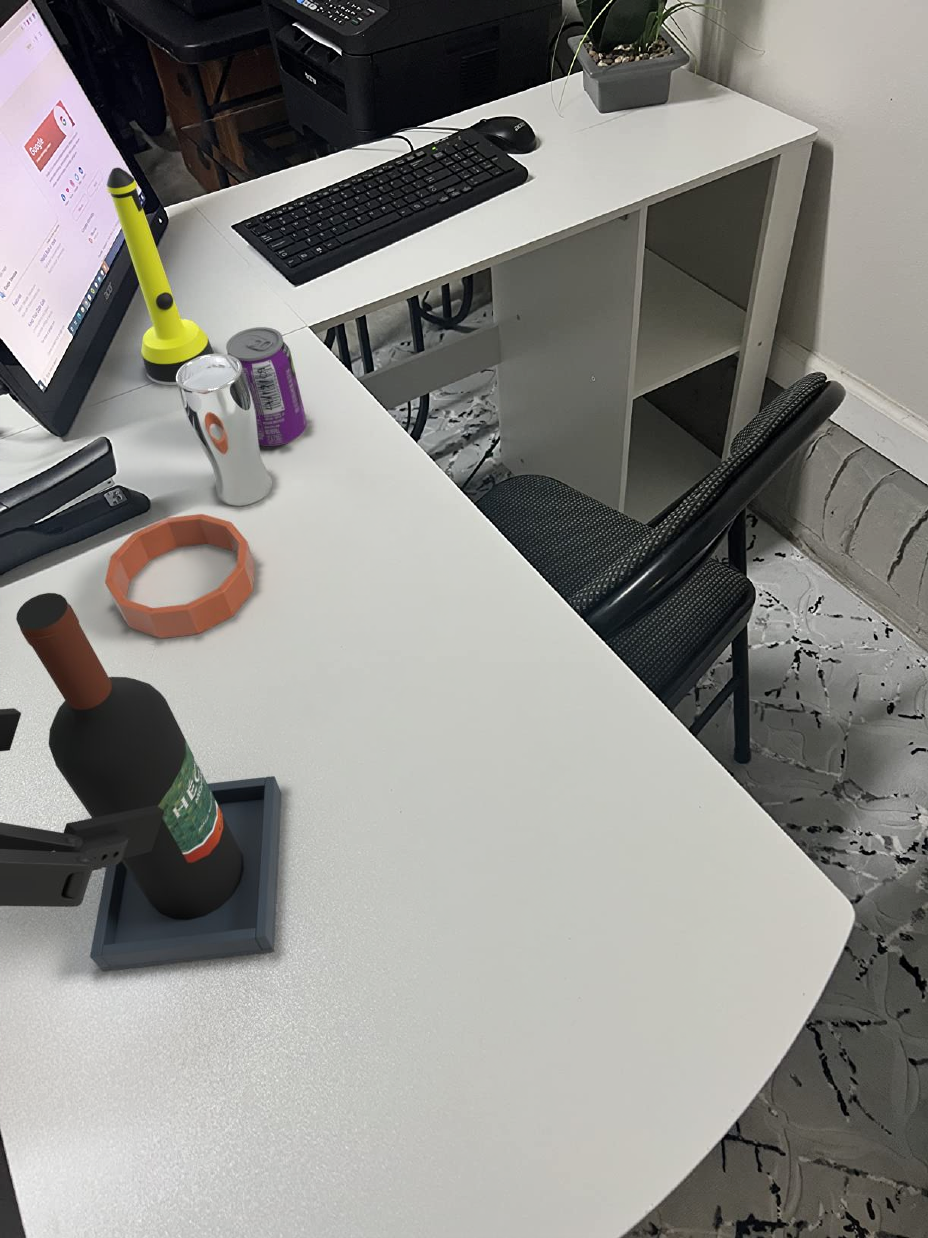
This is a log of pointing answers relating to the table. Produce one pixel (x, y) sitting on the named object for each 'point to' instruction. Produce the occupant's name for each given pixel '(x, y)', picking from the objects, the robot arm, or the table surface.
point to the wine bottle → (133, 766)
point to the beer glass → (225, 426)
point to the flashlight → (155, 290)
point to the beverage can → (270, 384)
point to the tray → (236, 928)
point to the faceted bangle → (167, 538)
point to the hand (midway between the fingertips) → (80, 776)
